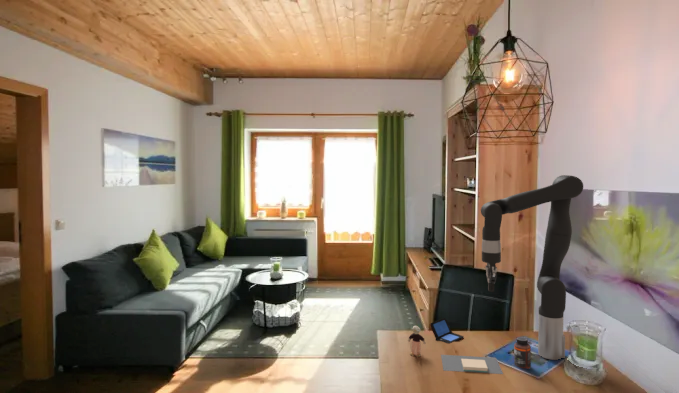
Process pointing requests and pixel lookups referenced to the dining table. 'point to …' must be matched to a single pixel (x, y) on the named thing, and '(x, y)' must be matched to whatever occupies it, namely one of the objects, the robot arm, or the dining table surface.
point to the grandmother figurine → (416, 341)
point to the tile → (474, 365)
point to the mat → (455, 361)
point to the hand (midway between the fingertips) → (491, 291)
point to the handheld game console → (444, 332)
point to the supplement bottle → (522, 353)
